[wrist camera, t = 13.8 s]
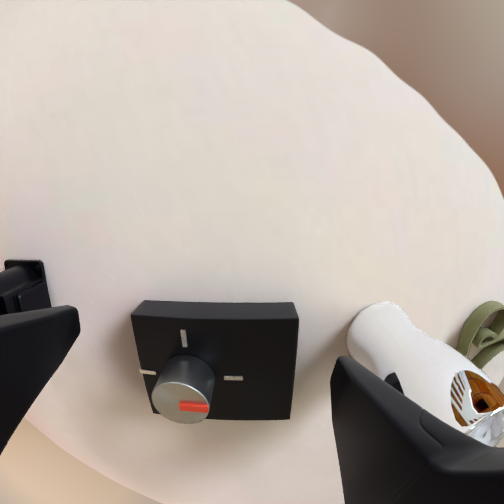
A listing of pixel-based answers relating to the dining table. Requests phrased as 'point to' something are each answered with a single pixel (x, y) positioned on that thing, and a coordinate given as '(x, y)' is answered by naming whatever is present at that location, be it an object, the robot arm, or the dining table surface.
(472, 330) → the cookie cutter
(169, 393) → the hob knob
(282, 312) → the hob panel
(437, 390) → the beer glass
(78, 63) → the dining table surface
